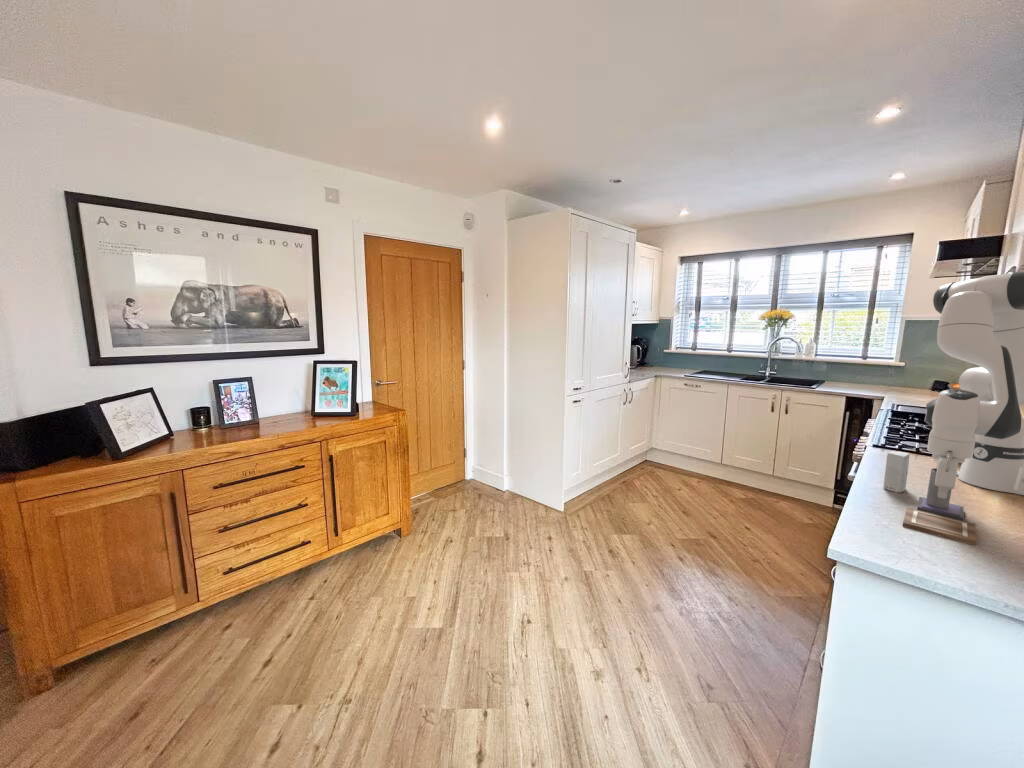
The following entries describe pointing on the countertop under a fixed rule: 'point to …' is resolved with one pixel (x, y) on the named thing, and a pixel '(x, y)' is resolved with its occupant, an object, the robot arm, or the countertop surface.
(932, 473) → the planter
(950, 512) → the ink pad
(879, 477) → the countertop surface
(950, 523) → the marked board
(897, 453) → the skincare box
